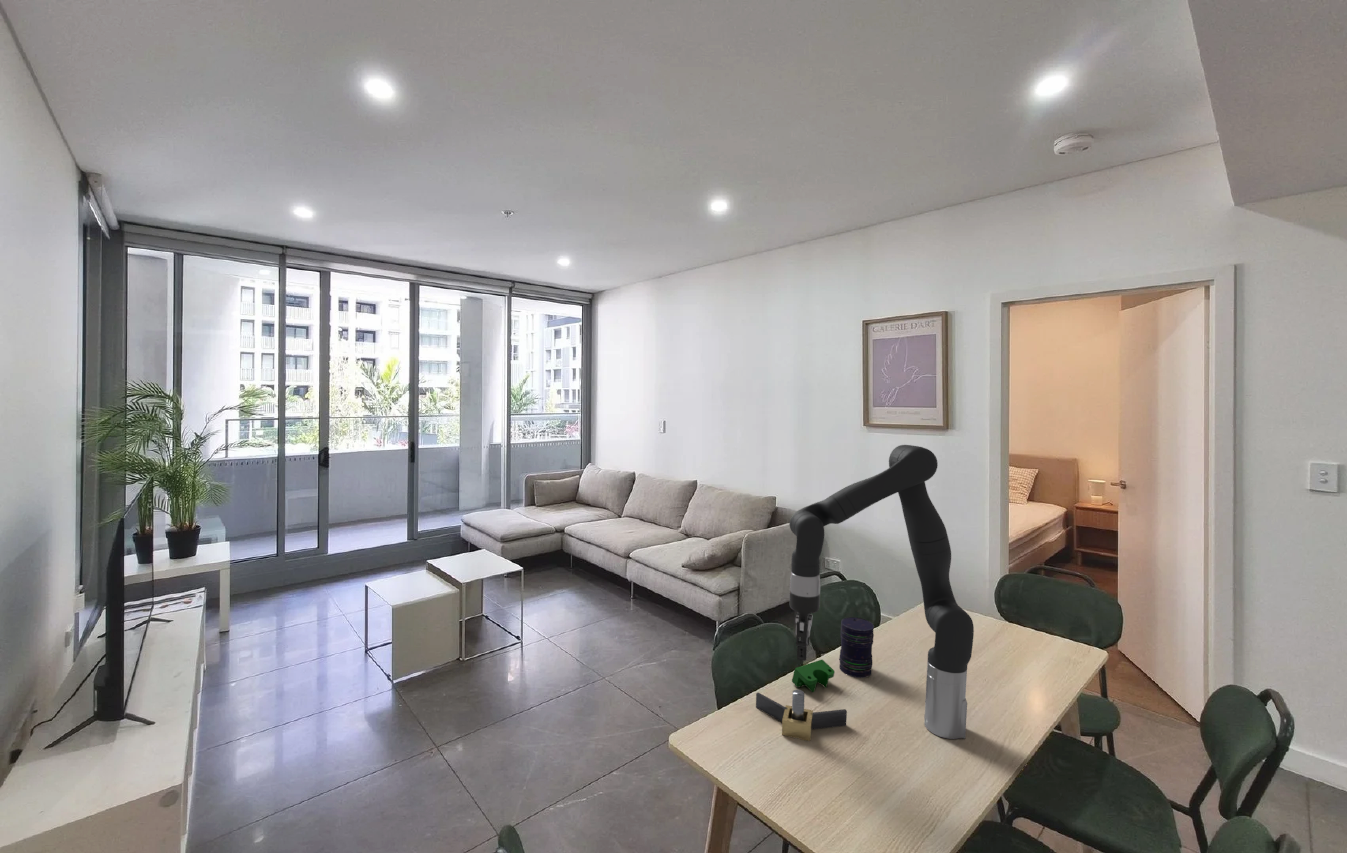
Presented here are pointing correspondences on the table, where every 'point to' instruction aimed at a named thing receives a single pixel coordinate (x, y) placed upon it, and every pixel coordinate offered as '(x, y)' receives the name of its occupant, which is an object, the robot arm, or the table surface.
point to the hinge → (795, 726)
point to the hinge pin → (798, 705)
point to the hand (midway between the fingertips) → (803, 652)
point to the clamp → (813, 674)
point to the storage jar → (856, 647)
